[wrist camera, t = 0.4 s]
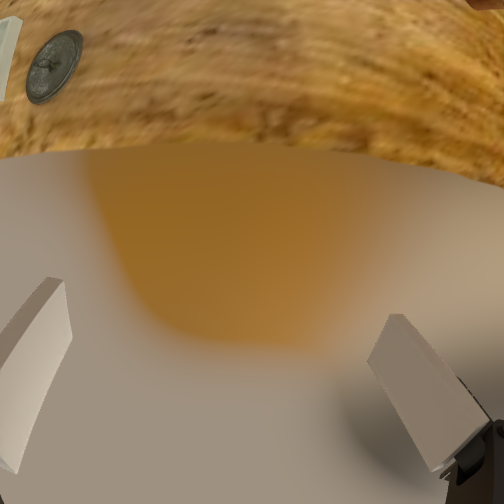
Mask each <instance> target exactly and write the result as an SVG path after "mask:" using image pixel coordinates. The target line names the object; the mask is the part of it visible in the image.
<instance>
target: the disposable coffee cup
mask: <svg viewBox="0 0 504 504" xmlns="http://www.w3.org/2000/svg"><path fill="white" fill-rule="evenodd" d="M466 1H467V2H468V4H469V5H470V6H471V7H472V8H474V9H475V10H490V9H504V0H466Z"/></svg>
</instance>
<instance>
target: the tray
mask: <svg viewBox="0 0 504 504" xmlns="http://www.w3.org/2000/svg"><path fill="white" fill-rule="evenodd" d="M22 24H23V20H21V19H19V18H18V17H16V16H14V15H13V16H10V17H7V18H4V19H2V20H0V102H3V101H4V98H5V92H6V86H7V81H8V76H9V71H10V67H11V62H12V58H13V54H14V50H15V47H16V43H17V40H18V36H19V33H20V30H21V27H22Z"/></svg>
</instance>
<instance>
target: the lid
mask: <svg viewBox="0 0 504 504" xmlns="http://www.w3.org/2000/svg"><path fill="white" fill-rule="evenodd" d="M82 48H83V38H82V35H81V34H80V33H79V32H78V31H75V30H68V31H64V32H62V33H59V34H57V35H55V36H54V37H52V38H51V39H50V40H49V41H48V42H47V43H46V44H45V45H44V46H43V48H42V49H41V50H40V51H39V52H38V54H37V55H36V56H35V58H34V60H33V62H32V65H31V67H30V70H29V73H28V77H27V82H26V91H27V96H28V99H29V100H30V102H32V103H33V104H37V105H40V104H43V103H46V102H48V101H50V100H51V99H52V98H54V97H55V96H56V95H57V94H58V93H59V92H60V91H61V90H62V89H63V88H64V87H65V85H66V84H67V83H68V82H69V80H70V78H71V77H72V75H73V74H74V72H75V70H76V68H77V66H78V63H79V60H80V57H81V53H82Z"/></svg>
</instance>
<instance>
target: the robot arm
mask: <svg viewBox="0 0 504 504" xmlns="http://www.w3.org/2000/svg"><path fill="white" fill-rule="evenodd" d="M72 339H73V337H72V332H71V327H70V321H69V315H68V308H67V301H66V294H65V286H64V280H61V279H56V278H51V277H47V278H46V279H45V280H44V281H43V282H42V283H41V284H40V285H39V287H38V288H37V289H36V290H35V291H34V292H33V294H32V295H31V296H30V297H29V298H28V299H27V301H26V302H25V303H24V304H23V305H22V307H21V308H20V309H19V310H18V312H17V313H16V314H15V315H14V317H13V318H12V319H11V320H10V322H9V323H8V324H7V326H6V327H5V328H4V330H3V331H2V332H1V334H0V466H1V467H2V468H4V469H6V470H8V471H11V472H13V473H15V474H17V473H18V469H19V466H20V463H21V460H22V456H23V453H24V451H25V448H26V445H27V442H28V439H29V436H30V433H31V430H32V428H33V425H34V423H35V420H36V418H37V415H38V413H39V410H40V407H41V405H42V403H43V400H44V398H45V396H46V393H47V391H48V388H49V386H50V384H51V382H52V380H53V378H54V375H55V373H56V371H57V369H58V367H59V365H60V363H61V361H62V359H63V356H64V355H65V353H66V350H67V349H68V347H69V345H70V343H71V341H72ZM367 362H368V364H369V366H370V367H371V369H372V371H373V372H374V374H375V375H376V377H377V379H378V381H379V382H380V384H381V386H382V387H383V389H384V391H385V392H386V394H387V396H388V397H389V399H390V401H391V402H392V404H393V406H394V407H395V409H396V411H397V413H398V414H399V416H400V418H401V420H402V421H403V423H404V425H405V427H406V428H407V430H408V432H409V434H410V435H411V437H412V439H413V441H414V443H415V444H416V446H417V448H418V450H419V452H420V453H421V455H422V457H423V459H424V461H425V462H426V464H427V466H428V468H429V470H430V472H433V471H435V470H437V469H439V468H441V467H443V466H445V465H446V464H447V463H448V462H449V461H450V460H451V459H453V458H455V459H456V461H455V462H454V463H453V464H452V465H451V466H449V467H448V468H447V469H446V470H445V471H444V472H443V473H442V474H441V475H440V479H442V478H443V477H444V476H446V475H447V474H448V473H449V472H451V473H450V474H449V475H448V476H447V477H446V478H445V480H447V481H449V486H448V492H447V498H446V503H445V504H504V420H499V419H498V420H496V421H495V422H493V421H492V419H491V418H490V417H489V416H488V414H487V413H486V412H485V410H484V409H483V408H482V406H481V405H480V404H479V402H478V401H477V400H476V398H475V397H474V396H472V393H471V392H470V391H469V390H467V387H466V386H465V384H464V383H463V382H462V381H461V379H459V378H458V377H457V376H456V375H455V374H454V373H453V372H452V371H451V369H450V368H449V367H448V366H447V365H446V363H445V362H444V361H443V360H442V358H441V357H440V356H439V355H438V354H437V353H436V351H435V350H434V349H433V348H432V347H431V346H430V344H429V343H428V342H427V341H426V340H425V339H424V338H423V336H422V335H421V334H420V333H419V332H418V331H417V329H416V328H415V327H414V326H413V325H412V324H411V323H410V321H408V319H407V318H406V317H405V316H404V315H403V314H390V315H389V318H388V320H387V322H386V324H385V326H384V328H383V330H382V332H381V335H380V337H379V339H378V341H377V343H376V345H375V347H374V348H373V350H372V352H371V355H370V356H369V358H368V360H367ZM0 504H4V502H3V500H2V498H1V495H0Z"/></svg>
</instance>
